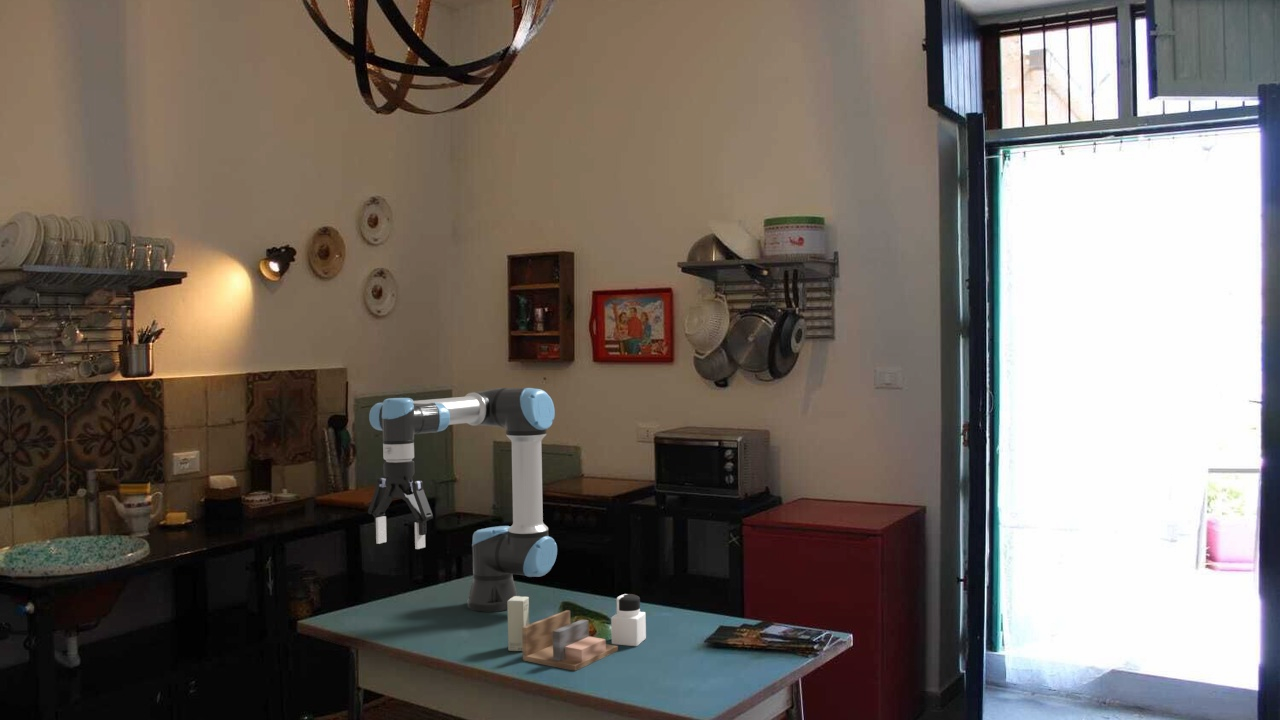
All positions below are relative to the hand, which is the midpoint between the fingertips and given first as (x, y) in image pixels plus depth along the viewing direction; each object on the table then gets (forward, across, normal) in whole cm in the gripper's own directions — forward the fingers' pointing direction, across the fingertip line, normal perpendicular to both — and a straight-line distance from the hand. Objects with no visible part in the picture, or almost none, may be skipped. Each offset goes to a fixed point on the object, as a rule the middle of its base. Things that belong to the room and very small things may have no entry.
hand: (400, 545), depth 255 cm
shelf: (+28, +36, +22) cm, 51 cm away
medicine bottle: (+28, +42, +39) cm, 64 cm away
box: (+28, +21, +20) cm, 40 cm away
